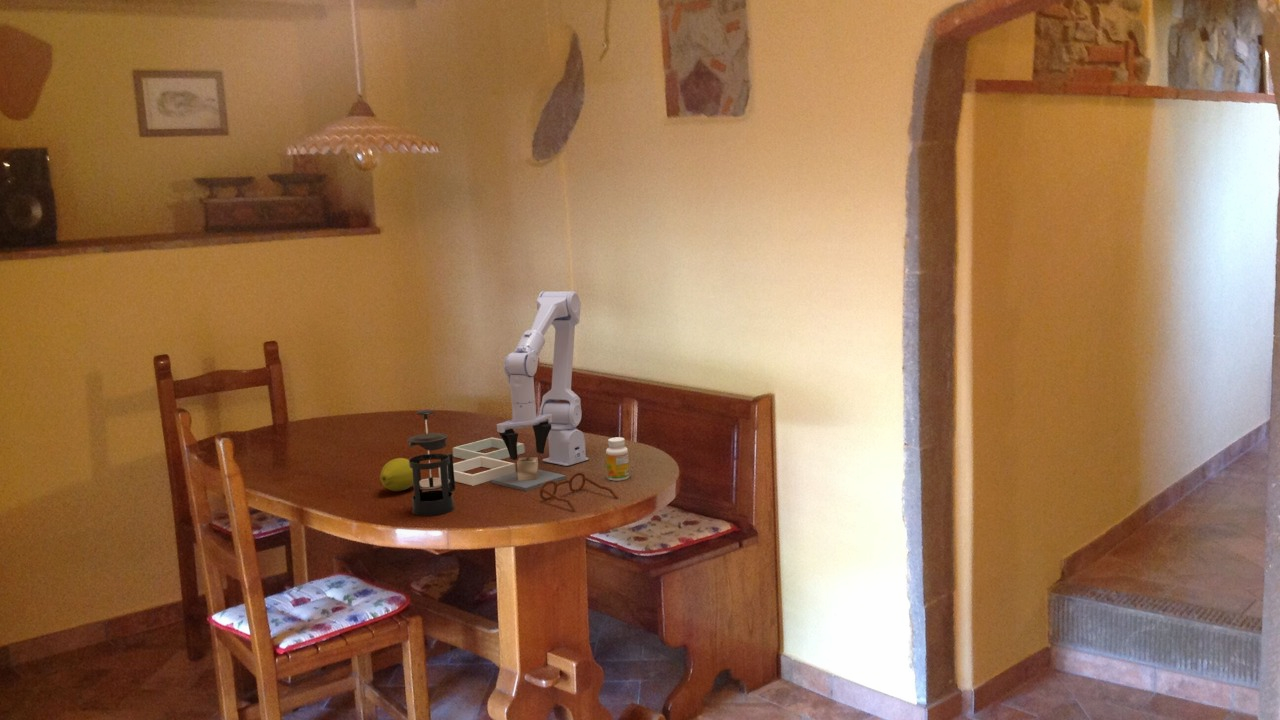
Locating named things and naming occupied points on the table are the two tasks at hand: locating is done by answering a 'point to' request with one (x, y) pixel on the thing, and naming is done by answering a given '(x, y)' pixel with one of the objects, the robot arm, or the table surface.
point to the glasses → (570, 489)
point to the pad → (526, 485)
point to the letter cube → (527, 468)
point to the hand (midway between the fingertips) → (527, 456)
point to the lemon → (397, 475)
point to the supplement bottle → (617, 459)
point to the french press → (435, 499)
